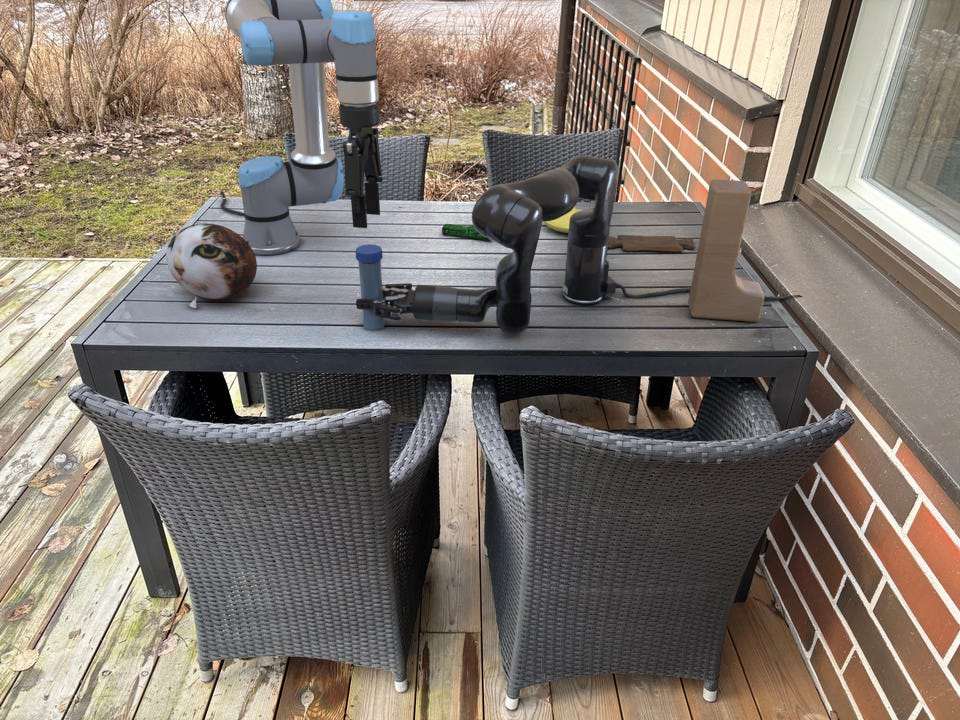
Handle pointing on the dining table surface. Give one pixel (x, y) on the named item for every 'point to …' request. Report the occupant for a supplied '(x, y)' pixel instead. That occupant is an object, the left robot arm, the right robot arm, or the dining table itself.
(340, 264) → the dining table surface
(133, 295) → the dining table surface
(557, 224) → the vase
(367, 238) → the dining table surface
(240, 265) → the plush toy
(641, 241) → the wooden paddle board
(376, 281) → the blue-grey bottle
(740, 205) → the decorative block
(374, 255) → the lid
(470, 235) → the handgun
